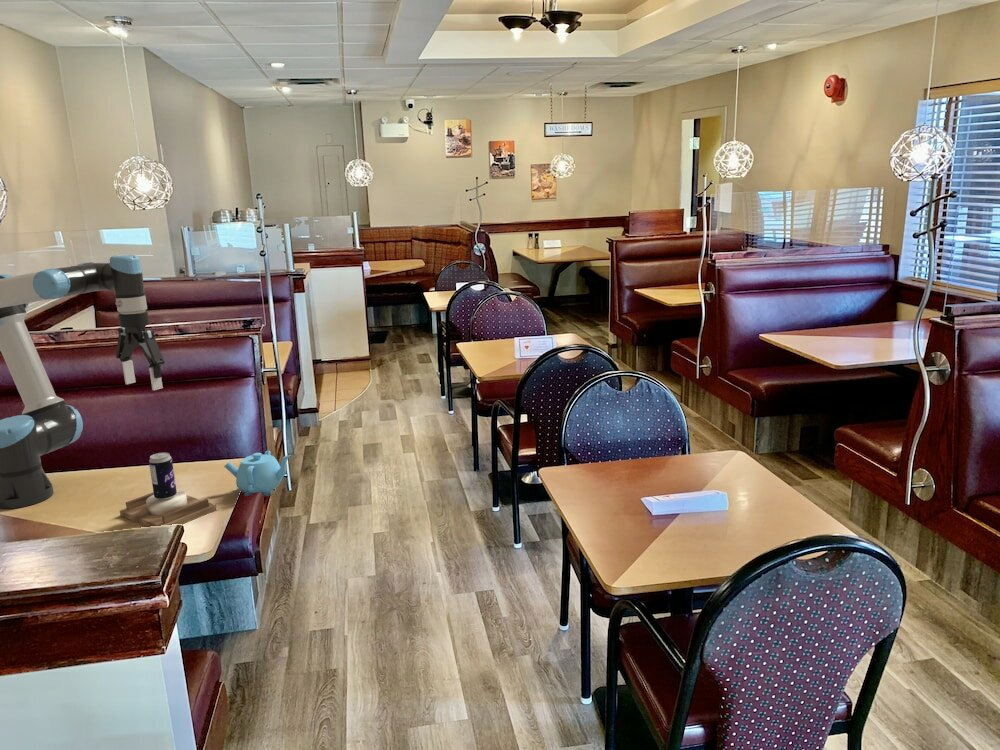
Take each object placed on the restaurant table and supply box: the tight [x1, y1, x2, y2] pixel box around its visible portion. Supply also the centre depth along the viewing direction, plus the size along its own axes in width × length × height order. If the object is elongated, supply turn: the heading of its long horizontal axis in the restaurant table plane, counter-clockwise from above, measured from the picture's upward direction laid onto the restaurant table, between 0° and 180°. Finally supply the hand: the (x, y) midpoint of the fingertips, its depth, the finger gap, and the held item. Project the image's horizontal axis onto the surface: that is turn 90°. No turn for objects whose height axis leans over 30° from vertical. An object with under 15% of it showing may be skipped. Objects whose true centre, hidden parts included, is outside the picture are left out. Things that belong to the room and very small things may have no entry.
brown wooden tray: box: [119, 489, 217, 527], centre depth 210 cm, size 20×16×4 cm
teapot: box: [224, 450, 292, 497], centre depth 223 cm, size 15×14×11 cm
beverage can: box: [148, 451, 177, 500], centre depth 208 cm, size 6×6×12 cm
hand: (143, 386), depth 219 cm, fingers open, 13 cm apart
